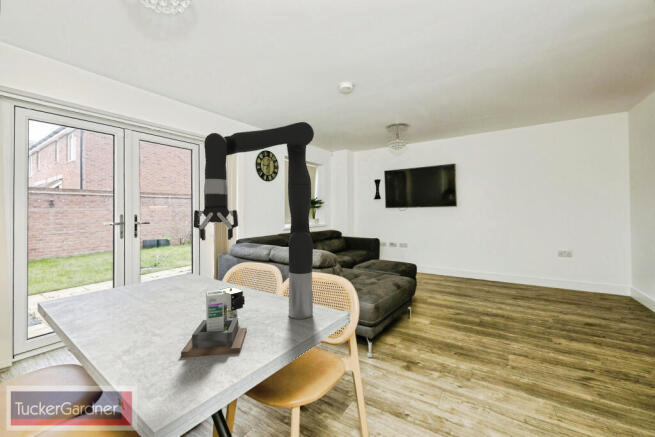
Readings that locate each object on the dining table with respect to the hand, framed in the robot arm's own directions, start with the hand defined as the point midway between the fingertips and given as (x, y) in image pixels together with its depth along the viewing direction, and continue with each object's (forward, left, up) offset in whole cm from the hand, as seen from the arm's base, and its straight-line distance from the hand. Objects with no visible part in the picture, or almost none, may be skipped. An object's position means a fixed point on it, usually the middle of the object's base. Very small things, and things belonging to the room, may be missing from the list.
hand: (216, 239), depth 96 cm
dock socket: (-3, +12, -31) cm, 33 cm away
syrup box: (-3, +12, -30) cm, 32 cm away
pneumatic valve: (-4, -8, -31) cm, 32 cm away
